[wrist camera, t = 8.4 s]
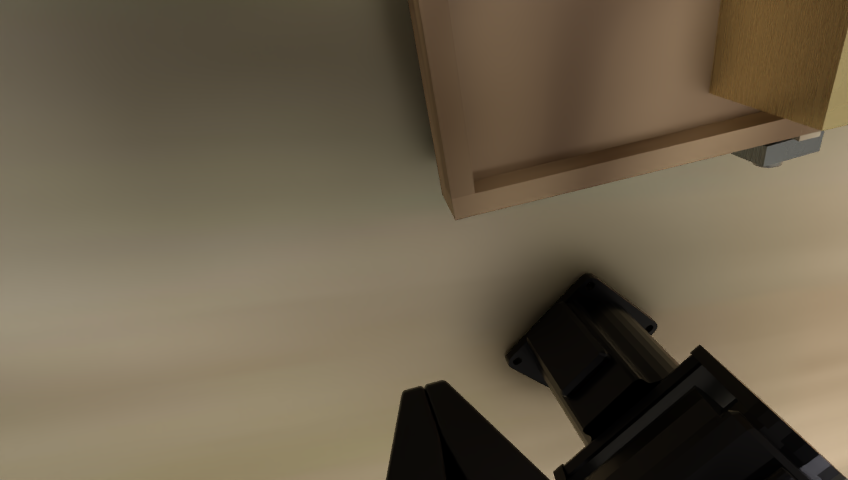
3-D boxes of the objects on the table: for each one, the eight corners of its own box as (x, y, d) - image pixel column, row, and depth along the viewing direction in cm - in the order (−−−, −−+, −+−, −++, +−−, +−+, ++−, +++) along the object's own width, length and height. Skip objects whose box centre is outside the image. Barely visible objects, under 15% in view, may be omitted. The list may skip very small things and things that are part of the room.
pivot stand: (1036, -237, 18) (1242, -296, 14) (928, 74, 24) (1054, 94, 20) (391, -111, 15) (425, -140, 11) (446, 206, 21) (482, 258, 17)
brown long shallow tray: (1184, -222, 16) (1302, -248, 14) (1057, 50, 20) (1134, 59, 18) (397, -57, 14) (408, -61, 12) (442, 198, 18) (456, 225, 17)
